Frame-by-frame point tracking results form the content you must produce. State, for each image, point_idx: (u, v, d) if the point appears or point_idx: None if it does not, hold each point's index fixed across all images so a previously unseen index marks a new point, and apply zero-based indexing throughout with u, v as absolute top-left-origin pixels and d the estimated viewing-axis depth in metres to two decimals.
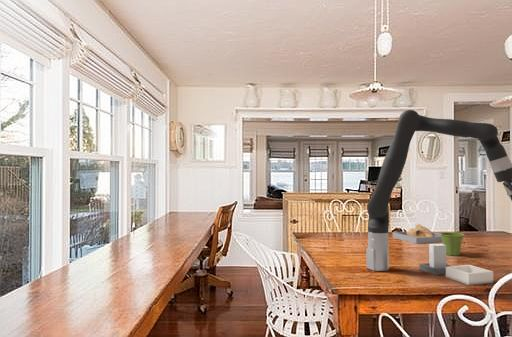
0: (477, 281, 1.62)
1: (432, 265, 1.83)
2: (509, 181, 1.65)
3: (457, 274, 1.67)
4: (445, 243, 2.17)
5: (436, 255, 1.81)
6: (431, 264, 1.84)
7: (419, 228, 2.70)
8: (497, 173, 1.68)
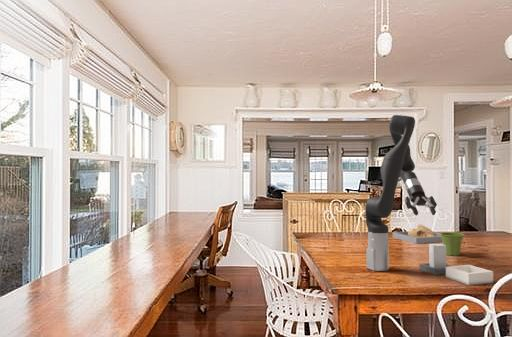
0: (477, 281, 1.62)
1: (432, 265, 1.83)
2: None
3: (457, 274, 1.67)
4: (445, 243, 2.17)
5: (436, 255, 1.81)
6: (431, 264, 1.84)
7: (421, 228, 2.68)
8: (421, 186, 2.04)
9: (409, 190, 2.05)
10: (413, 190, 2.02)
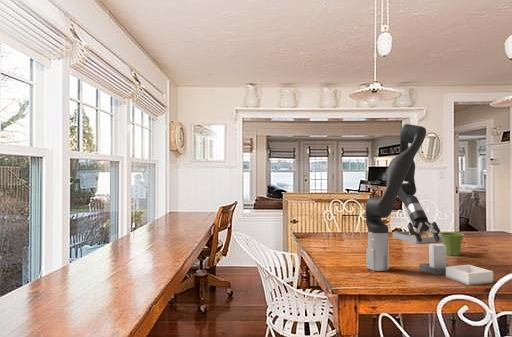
0: (477, 281, 1.62)
1: (432, 265, 1.83)
2: None
3: (457, 274, 1.67)
4: (445, 243, 2.17)
5: (436, 255, 1.81)
6: (431, 264, 1.84)
7: None
8: None
9: (412, 215, 2.00)
10: (415, 215, 1.98)
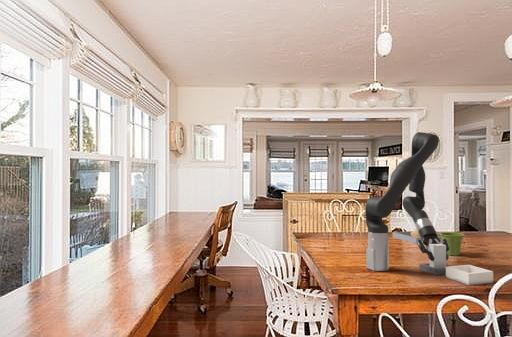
0: (477, 281, 1.62)
1: (432, 265, 1.83)
2: None
3: (457, 274, 1.67)
4: None
5: (436, 255, 1.81)
6: (431, 264, 1.84)
7: None
8: (433, 227, 1.91)
9: (420, 231, 1.91)
10: (424, 231, 1.90)
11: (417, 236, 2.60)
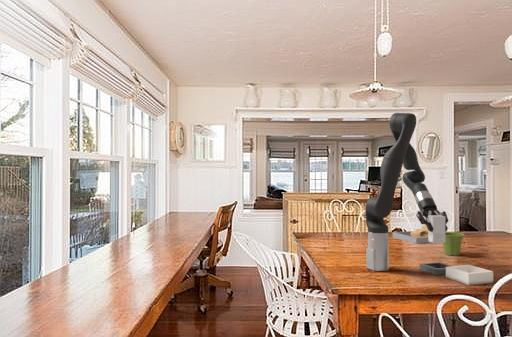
0: (477, 281, 1.62)
1: (431, 236, 1.83)
2: None
3: (457, 274, 1.67)
4: (445, 243, 2.17)
5: (435, 225, 1.82)
6: (430, 235, 1.84)
7: (425, 229, 2.65)
8: (433, 200, 1.92)
9: (420, 203, 1.92)
10: (424, 203, 1.90)
11: (417, 236, 2.60)
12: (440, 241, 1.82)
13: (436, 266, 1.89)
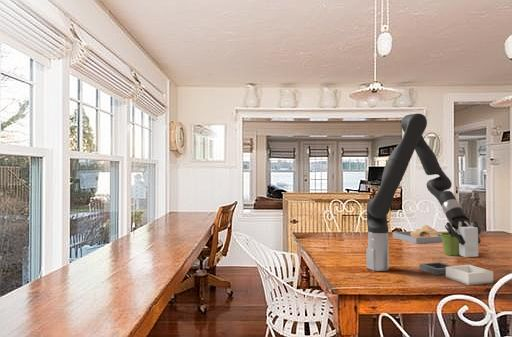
0: (477, 281, 1.62)
1: (463, 249, 1.68)
2: None
3: (457, 274, 1.67)
4: (445, 243, 2.17)
5: (467, 238, 1.67)
6: (461, 248, 1.69)
7: (425, 229, 2.65)
8: (462, 209, 1.77)
9: (448, 213, 1.77)
10: (453, 214, 1.75)
11: (416, 236, 2.60)
12: (473, 255, 1.67)
13: (436, 266, 1.89)
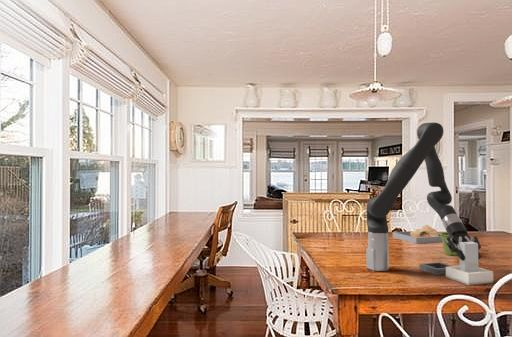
0: (477, 281, 1.62)
1: (463, 265, 1.68)
2: None
3: (457, 274, 1.67)
4: (445, 243, 2.17)
5: (467, 254, 1.67)
6: (461, 264, 1.69)
7: (426, 229, 2.65)
8: (462, 224, 1.77)
9: (449, 228, 1.77)
10: (453, 228, 1.75)
11: (416, 236, 2.60)
12: (473, 271, 1.67)
13: (436, 266, 1.89)
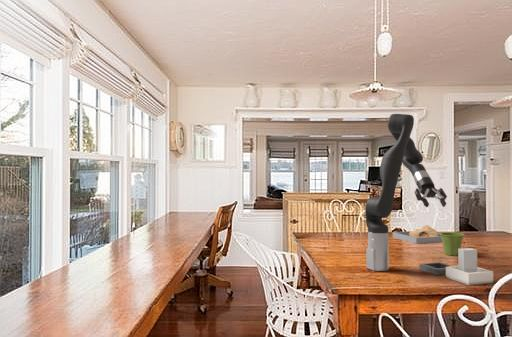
0: (477, 281, 1.62)
1: None
2: None
3: (457, 274, 1.67)
4: (445, 243, 2.17)
5: (466, 260, 1.67)
6: (461, 270, 1.69)
7: (425, 229, 2.65)
8: (430, 178, 2.03)
9: (418, 182, 2.03)
10: (422, 182, 2.01)
11: (415, 236, 2.60)
12: None
13: (436, 266, 1.89)
